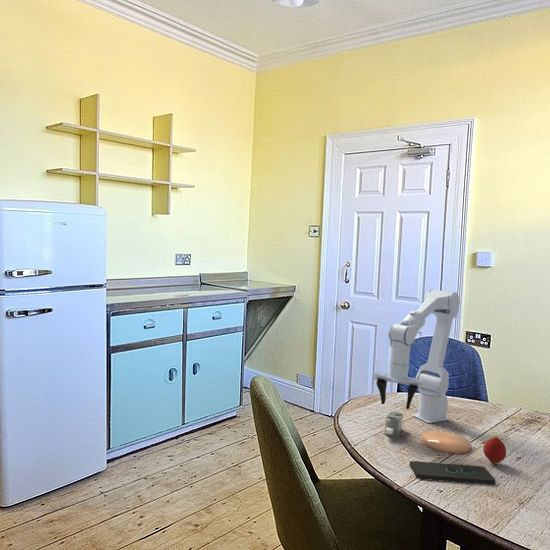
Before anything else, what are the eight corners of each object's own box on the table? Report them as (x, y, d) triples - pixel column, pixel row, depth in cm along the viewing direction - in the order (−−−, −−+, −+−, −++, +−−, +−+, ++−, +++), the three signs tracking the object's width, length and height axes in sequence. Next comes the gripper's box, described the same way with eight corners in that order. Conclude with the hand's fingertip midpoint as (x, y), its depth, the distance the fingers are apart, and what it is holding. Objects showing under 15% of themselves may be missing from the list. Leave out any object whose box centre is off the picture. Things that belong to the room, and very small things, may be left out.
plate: (443, 432, 163) (443, 428, 163) (480, 449, 151) (481, 445, 151) (411, 438, 156) (412, 434, 156) (448, 456, 144) (448, 452, 144)
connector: (390, 425, 165) (391, 410, 165) (402, 428, 164) (403, 413, 163) (381, 438, 154) (382, 422, 154) (394, 441, 152) (396, 425, 152)
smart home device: (496, 480, 129) (417, 474, 129) (496, 486, 129) (416, 480, 129) (484, 465, 137) (409, 459, 137) (483, 471, 137) (408, 466, 137)
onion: (503, 461, 143) (506, 433, 143) (505, 470, 138) (509, 441, 137) (481, 457, 145) (484, 430, 145) (482, 465, 140) (485, 437, 139)
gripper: (373, 361, 158) (369, 404, 159) (421, 369, 152) (417, 414, 153) (378, 357, 164) (374, 398, 165) (424, 364, 158) (420, 407, 159)
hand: (395, 405), depth 159 cm, fingers open, 7 cm apart
